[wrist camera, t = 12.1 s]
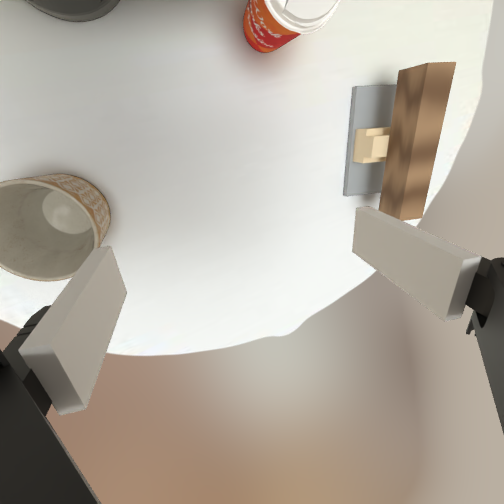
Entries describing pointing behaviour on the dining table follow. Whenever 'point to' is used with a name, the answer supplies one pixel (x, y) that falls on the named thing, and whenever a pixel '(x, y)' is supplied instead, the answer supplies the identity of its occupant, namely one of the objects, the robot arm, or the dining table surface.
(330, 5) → the coffee cup
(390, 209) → the bar
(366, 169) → the fulcrum
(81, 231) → the planter
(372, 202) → the dining table surface
